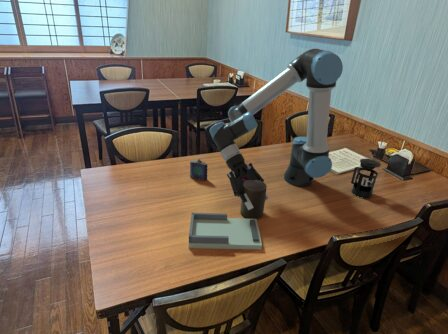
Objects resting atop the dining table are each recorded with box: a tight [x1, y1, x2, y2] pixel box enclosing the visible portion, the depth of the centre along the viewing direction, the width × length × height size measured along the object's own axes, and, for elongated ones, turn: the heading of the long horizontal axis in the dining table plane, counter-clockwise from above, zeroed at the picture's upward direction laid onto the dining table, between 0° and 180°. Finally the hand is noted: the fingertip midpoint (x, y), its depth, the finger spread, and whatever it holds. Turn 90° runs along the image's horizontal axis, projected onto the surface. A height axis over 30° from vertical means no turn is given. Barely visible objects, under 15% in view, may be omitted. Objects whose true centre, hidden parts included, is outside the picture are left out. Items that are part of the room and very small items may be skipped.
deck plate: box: [188, 212, 263, 251], centre depth 115 cm, size 26×16×4 cm, turn 91°
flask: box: [189, 158, 208, 182], centre depth 154 cm, size 9×3×11 cm, turn 71°
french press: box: [350, 148, 382, 199], centre depth 146 cm, size 12×9×23 cm
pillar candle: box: [240, 180, 268, 220], centre depth 127 cm, size 10×10×15 cm
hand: (258, 204), depth 126 cm, fingers closed on pillar candle, 10 cm apart
